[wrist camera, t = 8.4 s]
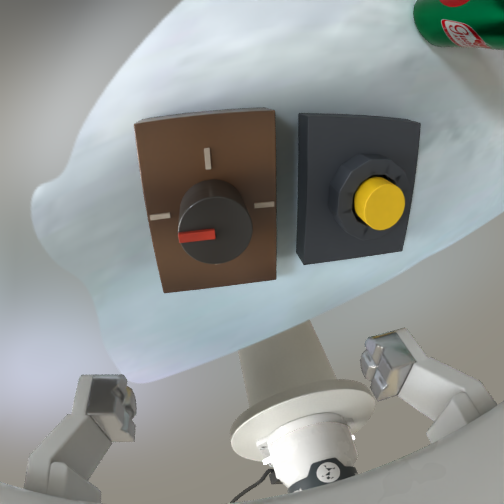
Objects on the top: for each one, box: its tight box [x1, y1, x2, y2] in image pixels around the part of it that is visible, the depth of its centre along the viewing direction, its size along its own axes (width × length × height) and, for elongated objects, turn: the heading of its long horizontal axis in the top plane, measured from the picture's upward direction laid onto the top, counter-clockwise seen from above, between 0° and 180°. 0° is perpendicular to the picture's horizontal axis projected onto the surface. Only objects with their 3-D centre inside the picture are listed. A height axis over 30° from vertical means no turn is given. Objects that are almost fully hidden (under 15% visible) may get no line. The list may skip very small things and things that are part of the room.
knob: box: [178, 179, 253, 264], centre depth 20 cm, size 4×4×4 cm
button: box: [354, 177, 405, 230], centre depth 22 cm, size 4×4×2 cm
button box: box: [296, 113, 421, 265], centre depth 24 cm, size 12×10×4 cm
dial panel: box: [134, 108, 277, 293], centre depth 22 cm, size 13×9×3 cm
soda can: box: [413, 0, 504, 50], centre depth 13 cm, size 5×5×12 cm
